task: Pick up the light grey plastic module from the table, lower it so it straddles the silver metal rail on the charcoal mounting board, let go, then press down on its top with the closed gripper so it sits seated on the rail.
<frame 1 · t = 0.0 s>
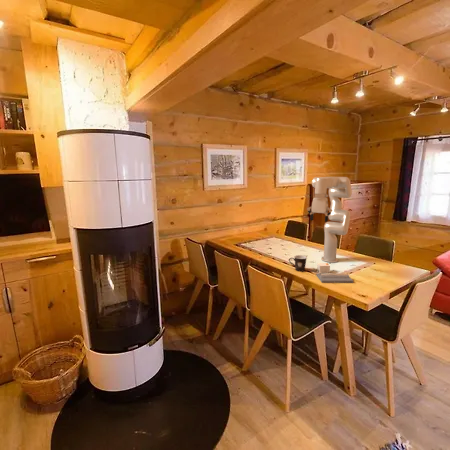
hand: (318, 220, 188), 37 cm above the table, tool pointing down, fingers open, 9 cm apart
coffee mug: (298, 269, 201), on the table
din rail: (334, 275, 182), on the mounting board, point 2 cm above the table
module: (323, 271, 196), on the table
mounting board: (334, 279, 182), on the table
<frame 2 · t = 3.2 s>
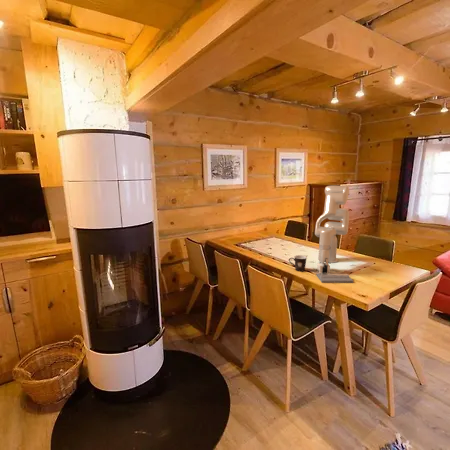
hand: (323, 270, 196), 1 cm above the table, tool pointing down, fingers closed on module, 6 cm apart
module: (323, 271, 196), on the table, touching gripper
everything else where it was.
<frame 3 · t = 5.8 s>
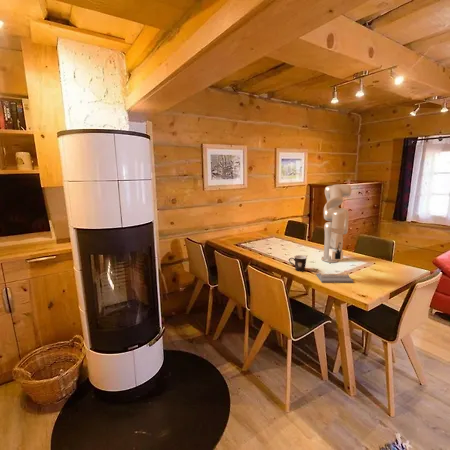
hand: (335, 257, 179), 15 cm above the table, tool pointing down, fingers closed on module, 6 cm apart
module: (335, 258, 179), point 15 cm above the table, touching gripper
everything else where it was.
when the fingers open (3 cm above the table, at t = 8.4 s): module stays where it is, resting on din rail.
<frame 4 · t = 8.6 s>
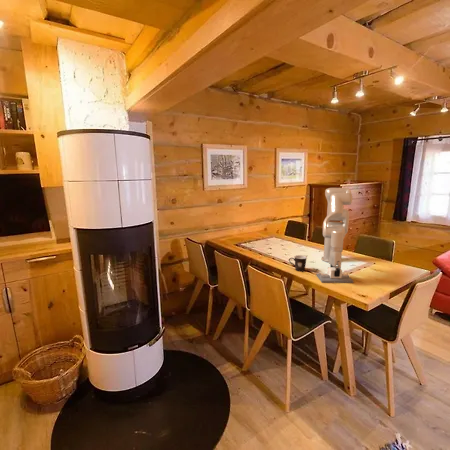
hand: (334, 273, 181), 4 cm above the table, tool pointing down, fingers open, 7 cm apart
module: (334, 276, 182), point 2 cm above the table, touching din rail
everything else where it was.
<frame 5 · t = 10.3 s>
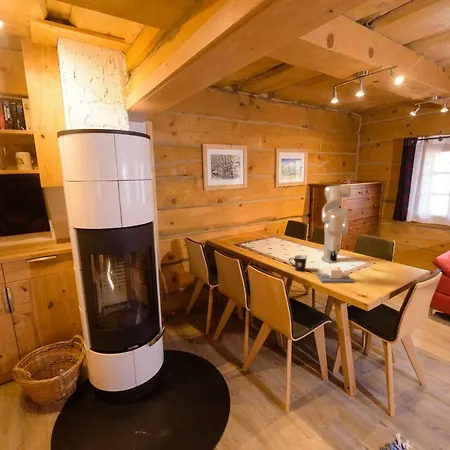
hand: (333, 260, 180), 13 cm above the table, tool pointing down, fingers closed
nothing on the table moved.
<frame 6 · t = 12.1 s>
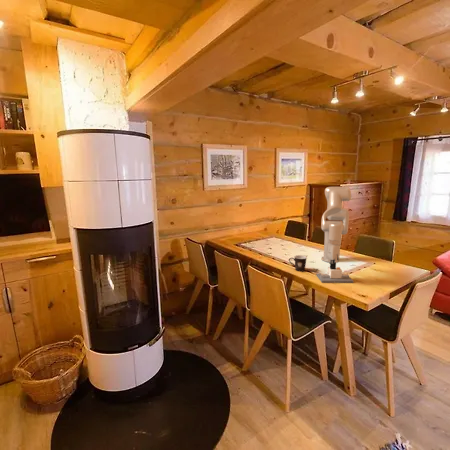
hand: (332, 268, 181), 7 cm above the table, tool pointing down, fingers closed
module: (334, 276, 182), point 2 cm above the table, touching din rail, gripper
everything else where it was.
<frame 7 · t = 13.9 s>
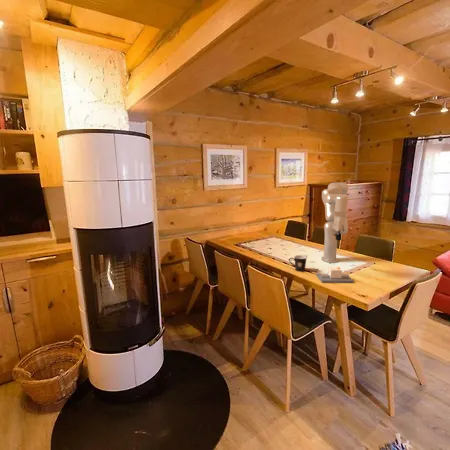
hand: (338, 239, 189), 24 cm above the table, tool pointing down, fingers closed
module: (334, 276, 182), point 2 cm above the table, touching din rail
everything else where it was.
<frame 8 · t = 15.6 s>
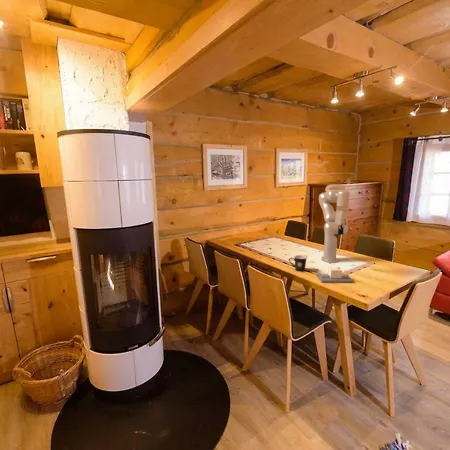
hand: (340, 234, 192), 27 cm above the table, tool pointing down, fingers closed
nothing on the table moved.
at the end: module inside the target area on the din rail (0.1 cm from its centre), point 1.8 cm above the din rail's base; module tilted 0°; the gripper is holding nothing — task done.
